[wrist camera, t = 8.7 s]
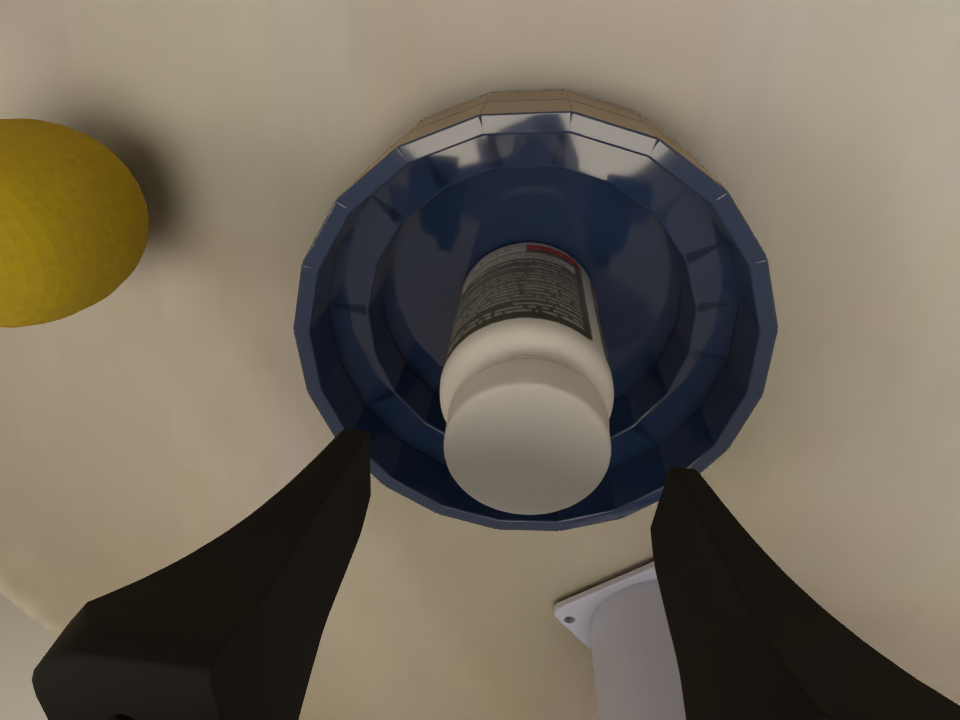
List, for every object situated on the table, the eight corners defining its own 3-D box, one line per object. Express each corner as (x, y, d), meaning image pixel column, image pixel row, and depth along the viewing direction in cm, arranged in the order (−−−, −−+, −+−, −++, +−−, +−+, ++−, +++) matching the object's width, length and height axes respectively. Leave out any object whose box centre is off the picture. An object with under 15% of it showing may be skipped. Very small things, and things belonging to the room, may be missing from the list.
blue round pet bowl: (801, 336, 22) (858, 408, 18) (494, 499, 27) (488, 581, 23) (583, -23, 17) (597, -28, 13) (258, 262, 22) (200, 318, 18)
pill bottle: (434, 289, 22) (383, 435, 14) (543, 210, 20) (547, 331, 13) (513, 381, 23) (504, 552, 16) (621, 316, 22) (663, 475, 14)
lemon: (217, 170, 20) (57, 257, 14) (159, 289, 23) (-1, 412, 16) (57, 61, 19) (-211, 96, 12) (13, 200, 22) (-229, 293, 15)
